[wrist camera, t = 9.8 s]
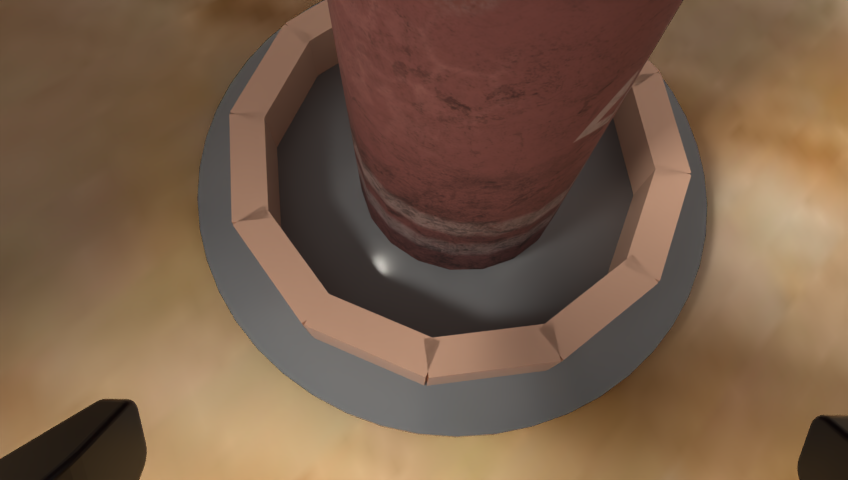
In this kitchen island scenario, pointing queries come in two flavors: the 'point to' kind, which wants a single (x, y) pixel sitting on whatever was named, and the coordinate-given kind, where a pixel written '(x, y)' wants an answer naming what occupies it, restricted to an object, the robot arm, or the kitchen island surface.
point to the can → (482, 111)
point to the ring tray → (431, 285)
